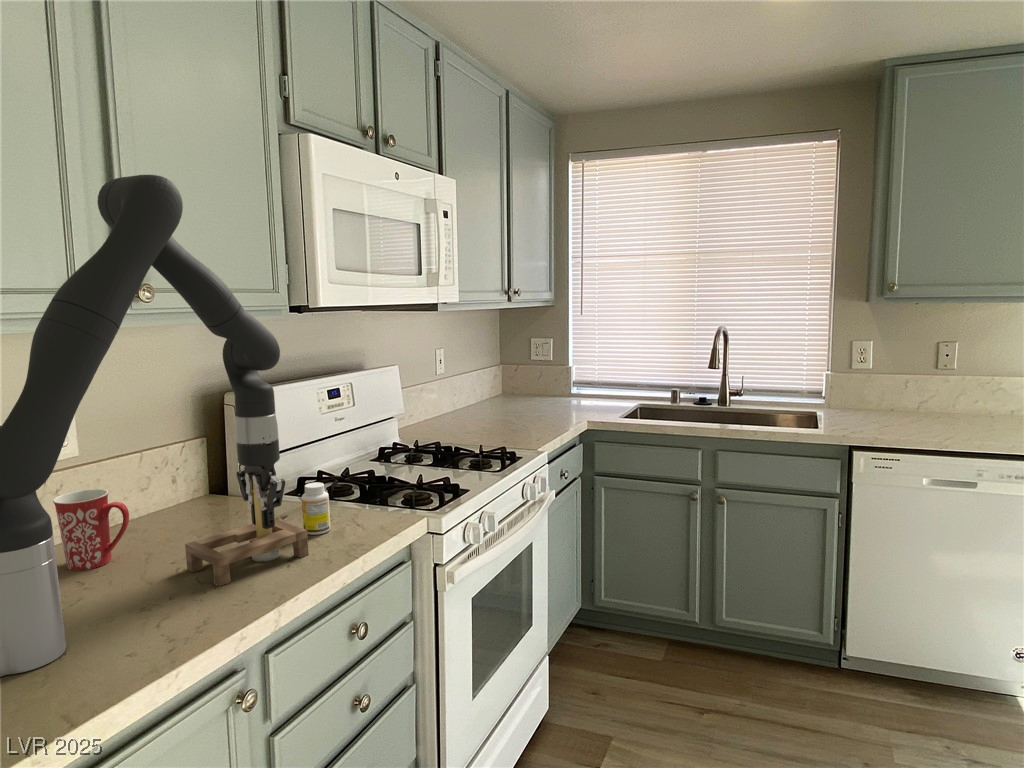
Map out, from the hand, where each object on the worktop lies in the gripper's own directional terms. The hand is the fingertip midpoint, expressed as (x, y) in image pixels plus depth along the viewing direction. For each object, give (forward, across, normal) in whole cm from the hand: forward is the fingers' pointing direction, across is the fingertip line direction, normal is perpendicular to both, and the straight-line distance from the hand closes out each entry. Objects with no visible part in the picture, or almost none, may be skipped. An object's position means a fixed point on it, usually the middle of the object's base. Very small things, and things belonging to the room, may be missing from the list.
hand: (263, 525), depth 133 cm
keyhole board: (+6, 0, -3) cm, 7 cm away
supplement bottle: (+6, -4, +15) cm, 16 cm away
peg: (+6, 0, 0) cm, 6 cm away
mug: (+7, -23, -21) cm, 32 cm away
